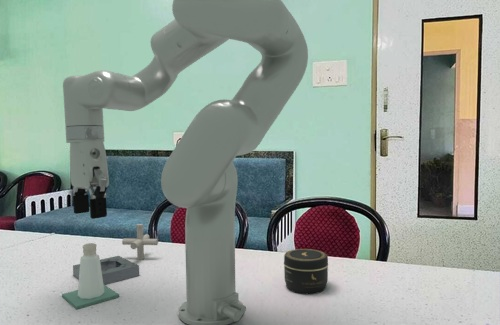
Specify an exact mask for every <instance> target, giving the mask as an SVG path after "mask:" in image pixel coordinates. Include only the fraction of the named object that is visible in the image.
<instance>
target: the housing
mask: <svg viewBox="0 0 500 325" xmlns="http://www.w3.org/2000/svg"><path fill="white" fill-rule="evenodd" d="M100 264H101V271H102V278H103V284H104V285H106V286H107V285H110V284H113V283H117V282H120V281H121V282H122V281H125V280H129V279H132V278H136V277H139V276H140V265H139V264H137V263H135V262H133V261H131V260H128V259H126V258H124V257H123V256H120V255H116V256H115V255H114V256H111V257H106V258H101V259H100ZM79 271H80V263H77V264H74V265H72V276H73V277H74V278H76V279H77V280H79Z"/></svg>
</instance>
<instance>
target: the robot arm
mask: <svg viewBox="0 0 500 325" xmlns="http://www.w3.org/2000/svg"><path fill="white" fill-rule="evenodd" d="M171 6H172V8H171V9H172V10H171V11H172V15H173V17H174V19H173V20H172V21H170V22H169V23H168V24H166V25H165V26H163V27H162V28H161V29H158V31H156V32H154V34H153V35H152V36H151V38H150V47H151V51H152V53H153V58H152V60H151V61H150V63H148V65H147V66H145V67H144V68H143V69H141V70H139V71H138V72H136V73H135V74H133V75H132V76H130V75H126V74H123V73H119V72H114V71H109V70H96V71H93V72H90V73H88V74H85V75H71V76H67V77H66V78H64V80H63V83H62V89H63V90H62V92H63V105H64V106H63V107H64V123H65V139H66V141H65V142H66V143H67V144H68V143H69V173H70V174H69V175H70V176H69V177H70V183H71V188H72V201H73V202H72V204H73V213H74V214H76V215H77V214H85V213H89V214H90V215H89V216H90V219H93V220H94V219H100V218H106V217H107V216H108V212H107V190H108V186H109V184H110V179H109V178H110V176H109V169H108V168H109V167H108V159H107V152H106V148H105V143H104V142H105V128H104V109H106V110H118V111H125V112H135V111H138V110H141V109H143V108H145V107H147V106H148V105H150V104H152V103H153V102H154V101H156V100H158V99H160V98H161V97H163V96H164V95H165V94H166V93H167V92H168V91H169V90H170V88H171V87H172V86H173V84H174V83H175V81H176V80H177V78H178V76H179V74H180V73H181V72H183V71H184V70H185V69H187V68H189V67H190V66H192V65H193V64H195V63H196V62H197V61H199V60H200V59H202V58H203V57H205V56H206V55H208V54H209V53H211V52H212V51H214V50H216V49H217V48H219V47H221V45H223V44H224V43H226V42H228V41H229V40H234V41H238V42H241V43H242V42H243V43H246V44H248V45H249V46H251V47H252V48H254V49H255V50H256V51H257V52H259V53H260V55H261V60H260V62H259V63H258V64H257V66H256V67H254V69H252V71H250V73H249V74H248V75H247V76H246V78H245V80H244V82H243V83H242V85H241V87H240V88H239V89H238V90H237V92H236V94H235V95H234V97H232V98H231V99H218V100H214V101H212V102H210V103H208V104H207V105H205V106H204V107H203V108H202V109H200V111H198V113H197V114H196V115H195V116H194V118H192V120H191V122H190V123H189V125H188V126H187V129H186V130H185V132H183V134H182V137H180V139H179V141H178V143H177V144H176V146H175V147H174V149H173V150H172V152H171V154H170V155H169V157H168V158H167V160H166V162H165V164H164V166H163V169H162V172H161V176H160V177H161V178H160V183H161V184H160V185H161V190H162V192H163V195H164V197H165V198H166V199H167V201H168V202H169V203H170V204H172V205H174V206H176V207H178V208H183V209H186V214H185V221H184V223H185V226H184V232H185V234H184V235H185V237H184V238H185V240H184V242H185V243H184V244H185V248H184V249H185V250H184V251H185V282H186V284H185V287H186V301H185V302H183V303H182V304H181V305H180V306H179V307H178V317H179V319H180V320H181V321H182V322H183V323H185V324H187V325H230V324H232V323H234V322H239V321H240V320H241V318H242V316H243V315H244V314H245V313H246V312H247V307H246V305H244V304H243V302H241V300H239V293H238V292H236V242H235V241H236V227H235V226H236V222H235V221H236V219H235V217H236V200H237V193H238V184H239V183H238V181H239V180H238V171H237V169H236V166H235V163H234V160H235V159H236V157H237V156H243V155H246V154H249V153H252V152H253V151H255V150H256V149H257V148H258V147H259V145H260V144H261V142H262V141H263V139H264V137H265V136H266V134H267V133H268V131H269V130H270V129H271V127H272V126H273V124H274V123H275V121H276V120H277V119H278V117H279V115H280V114H281V112H282V111H283V110H284V107H285V106H286V104H287V103H288V101H289V100H290V99H291V97H292V96H293V94H295V93H294V92H295V91H296V89H297V88H298V87H299V85H300V84H301V82H302V80H303V78H304V76H305V73H306V70H307V66H308V60H309V49H308V44H307V42H306V41H307V40H306V38H305V36H304V34H303V31H302V29H301V28H300V27H301V26H299V24H298V22H297V20H296V19H295V17H294V16H293V14H292V12H290V10H289V9H288V8H287V6H286V4H285V3H284V2H283V0H173V1H172V5H171ZM87 192H88V193H89V194H88V193H87ZM89 195H90V197H89Z"/></svg>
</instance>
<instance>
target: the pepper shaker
mask: <svg viewBox="0 0 500 325" xmlns="http://www.w3.org/2000/svg"><path fill="white" fill-rule="evenodd" d="M82 249H83V250H82V253H83V254H82V256H80V258H79V260H80V262H79V264H80V271H79V279H78V288H77V290H78V296H79V297H80V298H81V299H92V298H96V297H100V296H101V295H102V294H103V293H104V285H103V278H102V271H101V264H100V260H101V259H100V255H99V254H97V244H96V243H95V242H94V243H93V242H92V243H91V242H90V243H86V244H83V245H82Z"/></svg>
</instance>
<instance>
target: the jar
mask: <svg viewBox="0 0 500 325" xmlns="http://www.w3.org/2000/svg"><path fill="white" fill-rule="evenodd" d="M283 265H284V266H283V268H284V270H283V271H284V282H285V286H286V287H287V289H288V290H289V291H291V292H294V293H297V294H303V295H314V294H320V293H322V292H323V291H325V290H326V288H327V284H328V275H329V274H328V271H329V268H328V266H329V258H328V255H327V253H326V252H323V251H322V250H319V249H318V250H317V249H312V248H296V249H291V250H289V251H286V252H285V253H284V256H283Z"/></svg>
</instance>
